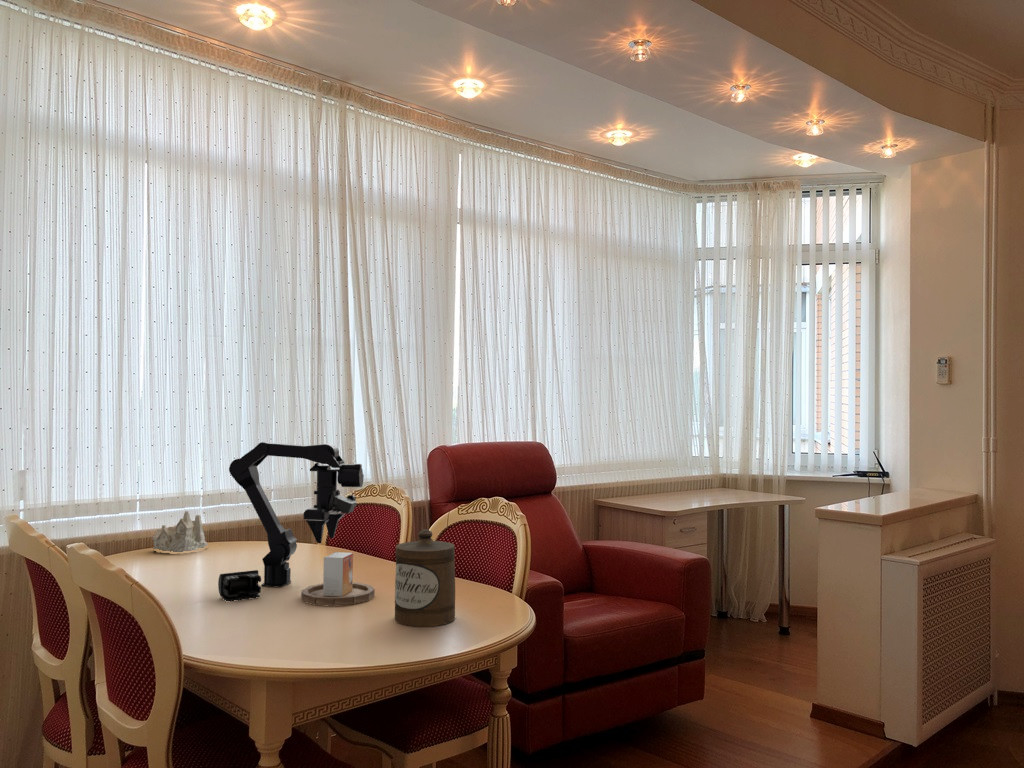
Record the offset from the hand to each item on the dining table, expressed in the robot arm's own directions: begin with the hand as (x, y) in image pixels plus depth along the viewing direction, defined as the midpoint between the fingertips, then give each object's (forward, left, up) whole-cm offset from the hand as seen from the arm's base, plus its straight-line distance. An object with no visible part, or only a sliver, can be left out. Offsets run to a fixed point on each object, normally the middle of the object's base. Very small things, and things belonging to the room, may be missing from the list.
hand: (325, 540), depth 236 cm
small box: (+9, -13, -12) cm, 20 cm away
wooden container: (+38, -30, -13) cm, 50 cm away
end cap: (-17, -18, -13) cm, 28 cm away
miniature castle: (-71, +43, -13) cm, 84 cm away
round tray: (+9, -13, -13) cm, 20 cm away
